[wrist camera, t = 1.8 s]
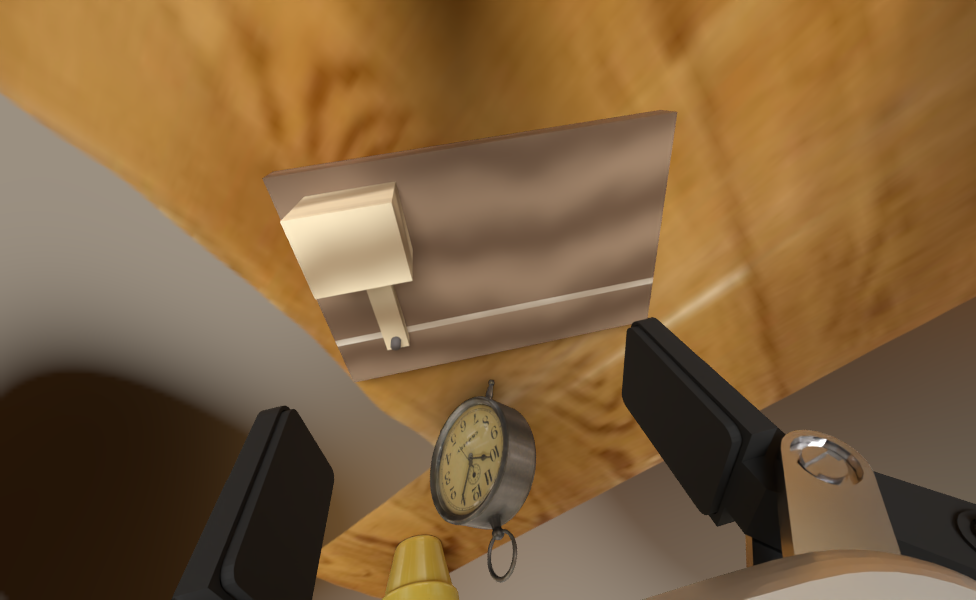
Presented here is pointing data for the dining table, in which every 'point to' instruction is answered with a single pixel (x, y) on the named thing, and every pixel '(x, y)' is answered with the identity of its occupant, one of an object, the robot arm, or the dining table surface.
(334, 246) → the cream square mallet
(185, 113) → the dining table surface
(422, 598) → the plant pot
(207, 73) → the dining table surface
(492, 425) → the alarm clock
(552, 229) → the wooden cutting board
